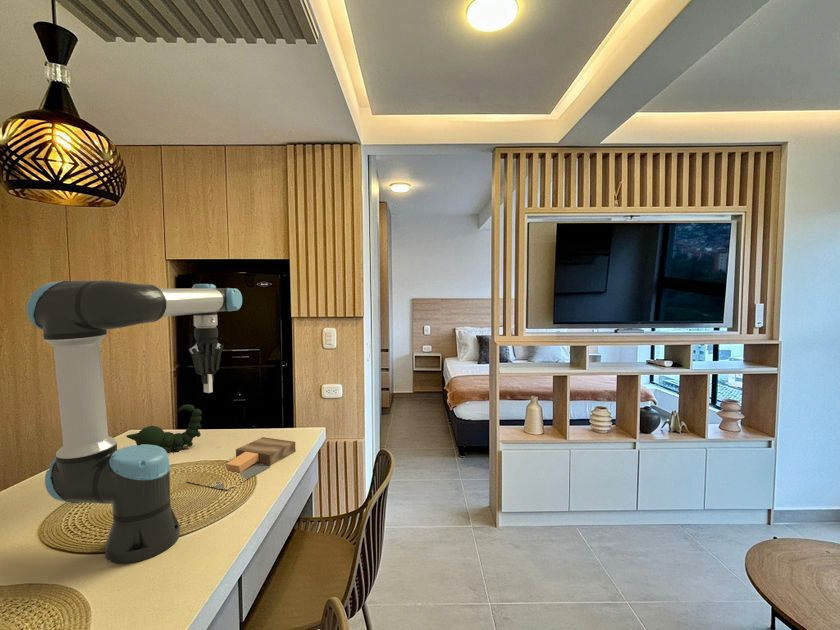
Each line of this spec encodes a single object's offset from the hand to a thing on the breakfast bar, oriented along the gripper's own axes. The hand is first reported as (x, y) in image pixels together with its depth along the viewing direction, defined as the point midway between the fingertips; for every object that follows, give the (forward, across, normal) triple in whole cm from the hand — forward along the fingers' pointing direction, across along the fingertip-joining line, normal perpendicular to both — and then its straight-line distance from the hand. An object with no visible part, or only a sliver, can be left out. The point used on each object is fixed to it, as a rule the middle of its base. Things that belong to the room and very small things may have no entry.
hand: (208, 392), depth 147 cm
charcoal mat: (+27, -4, -14) cm, 30 cm away
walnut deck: (+27, +14, -13) cm, 33 cm away
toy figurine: (+27, +2, +28) cm, 39 cm away
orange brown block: (+26, +2, -14) cm, 29 cm away
